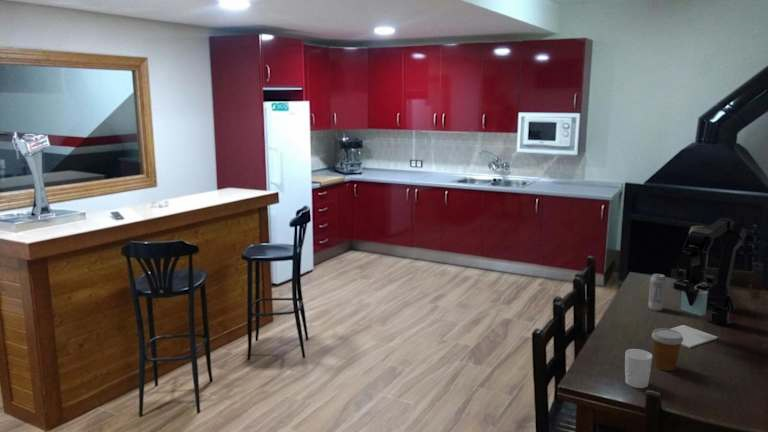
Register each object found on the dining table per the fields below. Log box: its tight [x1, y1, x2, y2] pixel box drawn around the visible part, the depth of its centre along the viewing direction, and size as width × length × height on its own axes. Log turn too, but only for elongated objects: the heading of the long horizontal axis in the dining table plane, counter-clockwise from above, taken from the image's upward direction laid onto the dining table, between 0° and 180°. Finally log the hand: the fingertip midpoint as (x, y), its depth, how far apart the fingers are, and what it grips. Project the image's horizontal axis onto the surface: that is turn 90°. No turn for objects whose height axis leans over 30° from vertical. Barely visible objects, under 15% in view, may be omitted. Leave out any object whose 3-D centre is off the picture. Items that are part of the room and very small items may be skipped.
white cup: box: [624, 348, 654, 389], centre depth 182 cm, size 8×8×10 cm
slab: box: [680, 288, 709, 317], centre depth 217 cm, size 3×8×9 cm, turn 29°
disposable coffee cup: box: [651, 327, 683, 372], centre depth 193 cm, size 10×10×12 cm
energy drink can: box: [647, 273, 667, 312], centre depth 246 cm, size 6×6×15 cm
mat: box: [670, 324, 719, 349], centre depth 218 cm, size 17×14×1 cm
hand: (693, 304), depth 217 cm, fingers closed on slab, 3 cm apart
